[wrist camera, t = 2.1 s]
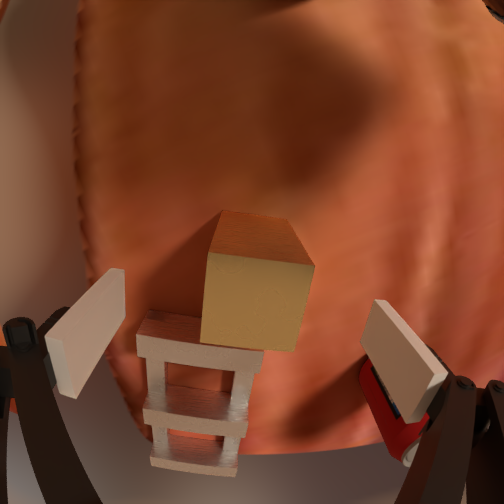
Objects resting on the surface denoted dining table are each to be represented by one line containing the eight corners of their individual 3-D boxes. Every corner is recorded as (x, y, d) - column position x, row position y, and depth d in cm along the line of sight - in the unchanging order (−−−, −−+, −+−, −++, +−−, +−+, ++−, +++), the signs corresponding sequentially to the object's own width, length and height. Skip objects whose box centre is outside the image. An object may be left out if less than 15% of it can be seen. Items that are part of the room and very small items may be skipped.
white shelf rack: (148, 309, 26) (135, 334, 22) (261, 324, 27) (264, 351, 23) (157, 441, 32) (151, 465, 28) (235, 452, 33) (235, 477, 29)
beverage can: (422, 340, 28) (479, 415, 17) (397, 387, 30) (439, 464, 19) (370, 336, 28) (422, 426, 16) (347, 387, 30) (380, 476, 18)
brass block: (222, 210, 24) (208, 252, 14) (286, 219, 24) (315, 266, 14) (215, 271, 25) (199, 342, 16) (276, 278, 25) (293, 352, 16)
